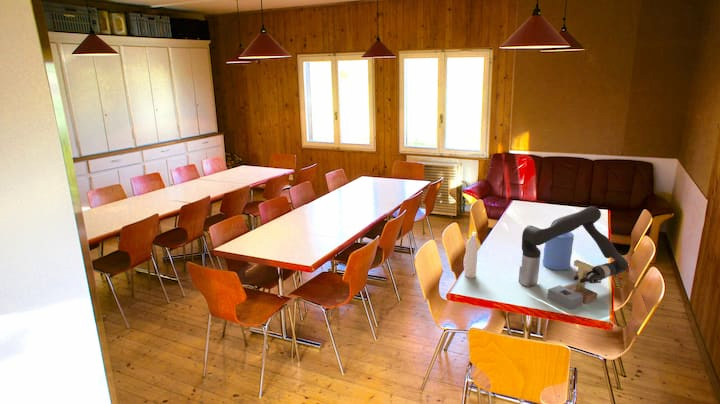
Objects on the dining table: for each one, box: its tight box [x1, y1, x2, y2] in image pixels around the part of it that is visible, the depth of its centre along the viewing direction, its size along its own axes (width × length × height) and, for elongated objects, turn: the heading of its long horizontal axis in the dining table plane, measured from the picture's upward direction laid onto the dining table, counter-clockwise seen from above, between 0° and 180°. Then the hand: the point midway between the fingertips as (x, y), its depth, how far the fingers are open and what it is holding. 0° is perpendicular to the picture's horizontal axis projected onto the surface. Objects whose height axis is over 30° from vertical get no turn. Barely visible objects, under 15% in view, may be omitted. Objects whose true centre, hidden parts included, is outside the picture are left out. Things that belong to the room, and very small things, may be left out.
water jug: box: [542, 231, 575, 271], centre depth 286 cm, size 16×16×28 cm
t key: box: [573, 259, 594, 292], centre depth 247 cm, size 9×3×18 cm, turn 30°
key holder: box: [547, 284, 584, 310], centre depth 244 cm, size 14×9×6 cm, turn 30°
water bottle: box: [464, 231, 479, 279], centre depth 275 cm, size 9×6×25 cm
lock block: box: [563, 282, 598, 304], centre depth 250 cm, size 14×9×4 cm, turn 30°
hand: (577, 279), depth 246 cm, fingers closed on t key, 3 cm apart
